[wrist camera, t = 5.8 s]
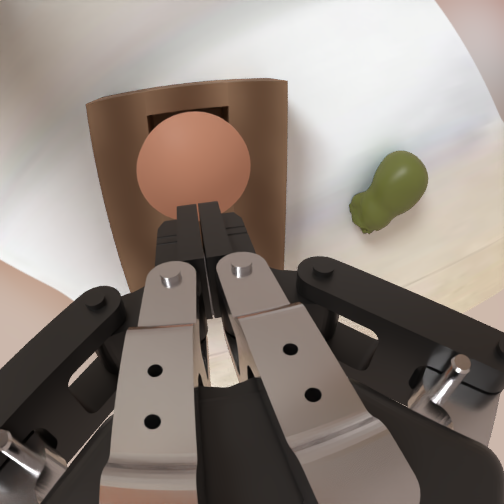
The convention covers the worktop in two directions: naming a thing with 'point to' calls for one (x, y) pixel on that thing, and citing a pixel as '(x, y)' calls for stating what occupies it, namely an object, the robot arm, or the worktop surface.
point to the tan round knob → (193, 163)
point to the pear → (390, 191)
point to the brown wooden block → (172, 103)
